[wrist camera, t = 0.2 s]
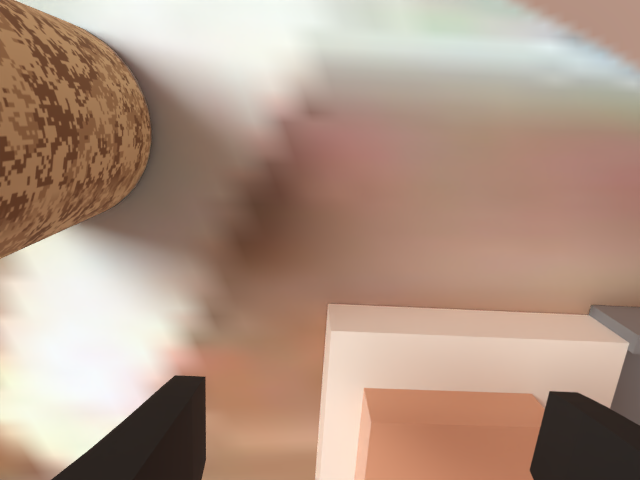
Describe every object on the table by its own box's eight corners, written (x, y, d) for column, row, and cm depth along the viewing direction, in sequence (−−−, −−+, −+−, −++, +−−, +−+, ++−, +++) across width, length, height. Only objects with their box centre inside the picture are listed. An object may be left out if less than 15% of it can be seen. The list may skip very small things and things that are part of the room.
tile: (509, 489, 19) (532, 532, 17) (353, 486, 18) (359, 529, 16) (531, 393, 17) (560, 428, 15) (363, 387, 17) (371, 422, 15)
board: (543, 488, 22) (572, 534, 19) (314, 483, 21) (316, 529, 19) (588, 315, 19) (629, 343, 17) (328, 303, 19) (331, 330, 16)
